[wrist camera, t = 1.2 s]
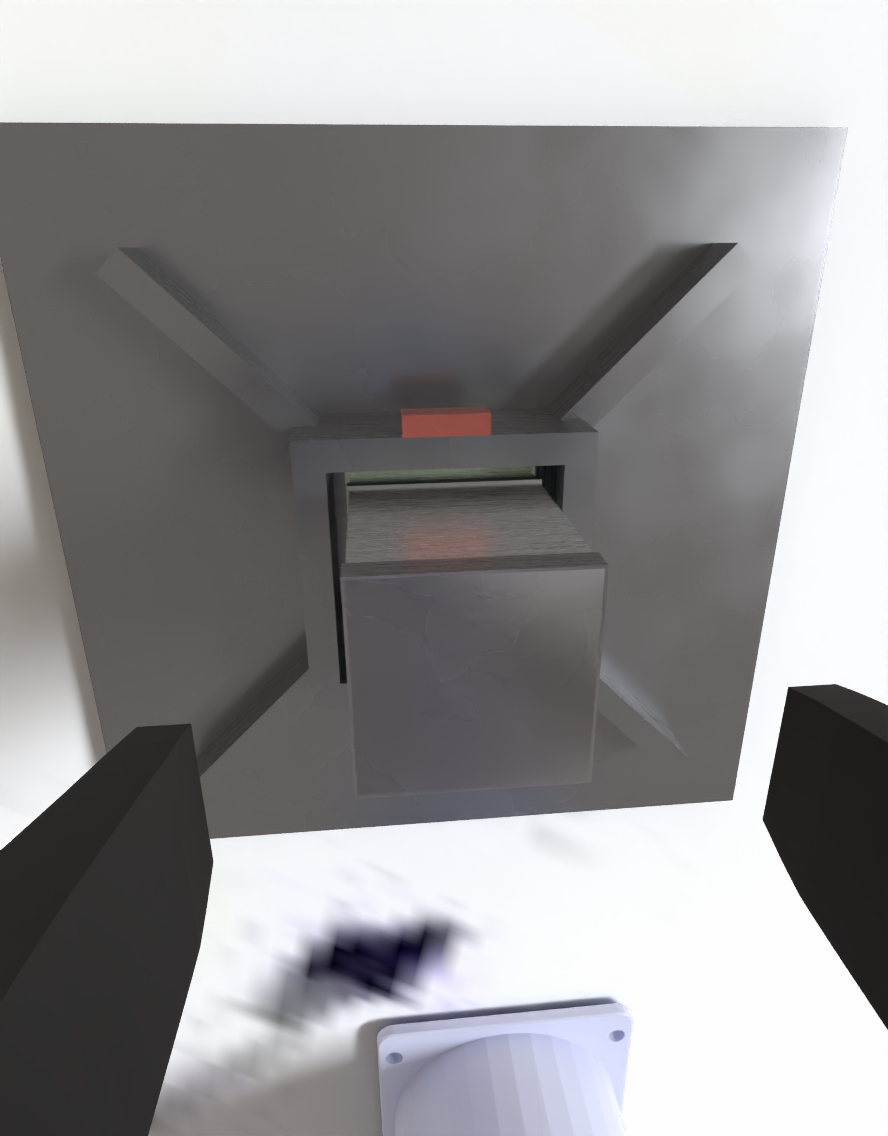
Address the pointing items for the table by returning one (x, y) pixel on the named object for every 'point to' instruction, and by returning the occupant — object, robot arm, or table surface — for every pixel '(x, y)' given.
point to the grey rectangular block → (468, 633)
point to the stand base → (411, 413)
